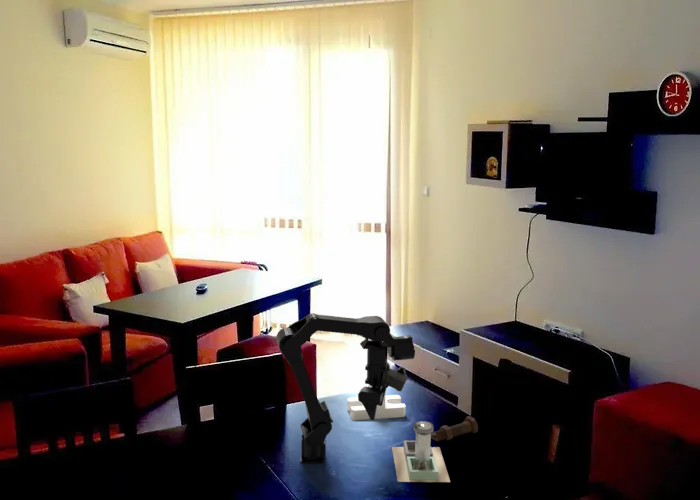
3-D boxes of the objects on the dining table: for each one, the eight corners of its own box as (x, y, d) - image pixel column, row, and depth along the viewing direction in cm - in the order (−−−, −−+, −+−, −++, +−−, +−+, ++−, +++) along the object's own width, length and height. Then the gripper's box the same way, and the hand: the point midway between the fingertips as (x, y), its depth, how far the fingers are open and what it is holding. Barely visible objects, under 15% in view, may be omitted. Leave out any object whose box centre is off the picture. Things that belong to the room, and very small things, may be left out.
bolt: (432, 447, 190) (470, 435, 197) (441, 447, 186) (480, 434, 193) (426, 428, 191) (465, 416, 199) (435, 427, 187) (474, 415, 194)
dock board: (397, 485, 167) (397, 481, 167) (391, 449, 185) (391, 446, 184) (450, 485, 167) (450, 482, 167) (439, 450, 185) (439, 447, 185)
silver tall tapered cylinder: (410, 475, 170) (412, 428, 166) (413, 465, 174) (415, 419, 171) (429, 479, 168) (432, 431, 165) (432, 468, 173) (434, 422, 170)
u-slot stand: (346, 407, 211) (347, 377, 209) (398, 404, 215) (399, 374, 213) (351, 421, 202) (352, 389, 200) (406, 417, 206) (407, 386, 203)
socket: (409, 480, 167) (409, 471, 167) (406, 464, 175) (406, 456, 174) (437, 480, 168) (438, 471, 167) (433, 465, 175) (434, 456, 175)
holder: (406, 461, 176) (406, 453, 176) (403, 448, 184) (403, 440, 183) (432, 462, 177) (432, 454, 176) (428, 448, 184) (429, 440, 183)
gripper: (398, 377, 167) (397, 431, 170) (411, 352, 185) (410, 402, 188) (357, 372, 170) (357, 425, 173) (374, 348, 188) (373, 397, 191)
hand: (376, 412), depth 181 cm, fingers open, 9 cm apart
